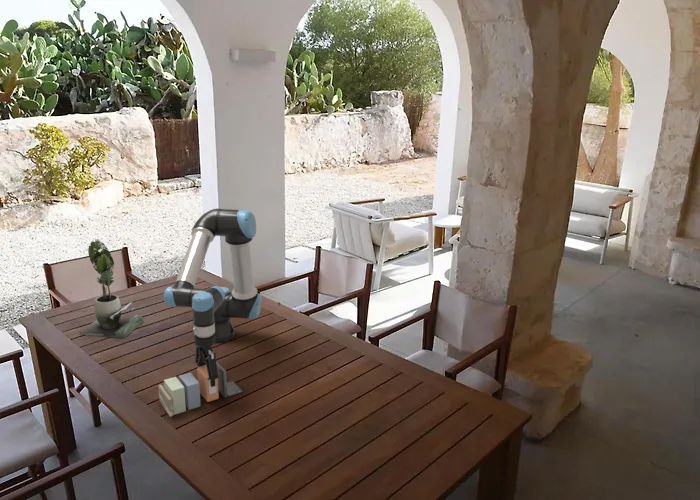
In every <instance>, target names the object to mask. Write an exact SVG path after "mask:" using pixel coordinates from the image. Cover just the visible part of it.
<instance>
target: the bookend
mask: <svg viewBox="0 0 700 500" xmlns="http://www.w3.org/2000/svg"><path fill="white" fill-rule="evenodd" d="M216 365H217V372H218V393H220V394H221V395H222V396H223V398H225V399H226V398H229V397H232V396H235V395H238V394H241V393H243V392H244V391H243V390H242V388H241V387H239V385H238V384H236V383H235V381H233V380H232V381H229V382H228V381H227V379H228V378H227V370H226V369H225V368H224V367H222V365H221V364H220V363H219V362H218V361H217V360H216Z"/></svg>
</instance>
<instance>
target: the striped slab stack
mask: <svg viewBox="0 0 700 500" xmlns="http://www.w3.org/2000/svg"><path fill="white" fill-rule="evenodd" d="M157 387H158V388H157V389H158V398H159V399H158V400H159V403H160V405H161V406H162V407H163V409H164V411H166V413H167V414H168V417H173V416H174V414H173V404H172V398H171V397H170V395H169V394H168V393H167V391H166V390H165V389H164V385H162V384H159V385H157Z"/></svg>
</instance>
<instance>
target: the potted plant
mask: <svg viewBox="0 0 700 500" xmlns="http://www.w3.org/2000/svg"><path fill="white" fill-rule="evenodd" d="M87 248H88V249H87V251H88V252H87V253H88V256H89V260H90V262H91V264H92V265H93V269H94V270H95V271H96V272H97V274H99V275H100V276H99V277H96V282H97V283H98V284H100V285H101V289H102V295H99V296H97V297H95V299H94V306H93V307H94V315H95V318H96V320H94V321H93V322H92V323H90V324H89V325H87V326H86V327H84V328H83V329H81V330H80V331H79V334H80V335H81V334H84V336H92V335H93V337H94V336H95V337H102V336H104V337H103V338H112V337H113V338H115V339H124V338H126V337H127V336H128V335H130V334H131V332H134V331H135V329H137V328H138V327H139V326H141V325H142V323H144V316H141V315H138V314H136V315H134V316H133V317H132V318H129V317H121V316H122V312H123V311H125V312H126V310H127V309H128V308H129V307H130V306H131V305H132V303H133V302H132V301H131V302H129V303H128V304H127V305H125V306H124V307H122V305H121V301H120V300H121V299H120V298H119V296H118V295H116V294H112V293H111V288H110V285H112V284H113V283H114V282H115V280H114V277H113V275H114V270H113V269H115V268H114V267H115V266H114V265H115V262H114V259H113V256H112V253H111V251H110V250H109V249H108V246H107V245H106V244H104V242H101V240H100V239H98V238H97V239H95V240H94V241H93V240H92V241H91V242H90V244H89V245H88V247H87ZM107 290H108V294H107ZM134 309H135V307H132V308H131V311H132V312H133V310H134ZM124 340H125V339H124Z"/></svg>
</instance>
